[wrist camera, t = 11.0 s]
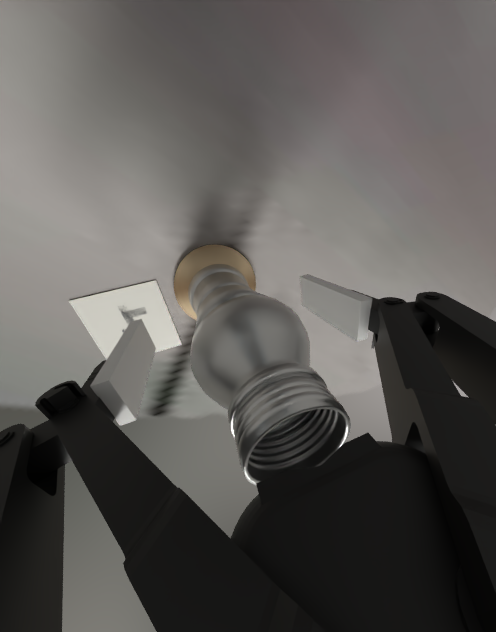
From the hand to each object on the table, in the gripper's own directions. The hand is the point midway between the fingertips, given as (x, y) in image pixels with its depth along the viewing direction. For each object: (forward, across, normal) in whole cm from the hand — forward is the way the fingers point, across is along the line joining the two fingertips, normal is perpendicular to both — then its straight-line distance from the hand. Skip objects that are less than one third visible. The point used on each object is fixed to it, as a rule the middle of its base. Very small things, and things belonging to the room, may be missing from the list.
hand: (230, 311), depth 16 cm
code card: (+9, -11, -2) cm, 15 cm away
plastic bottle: (+9, 0, 0) cm, 9 cm away
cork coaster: (+9, 0, 0) cm, 9 cm away
